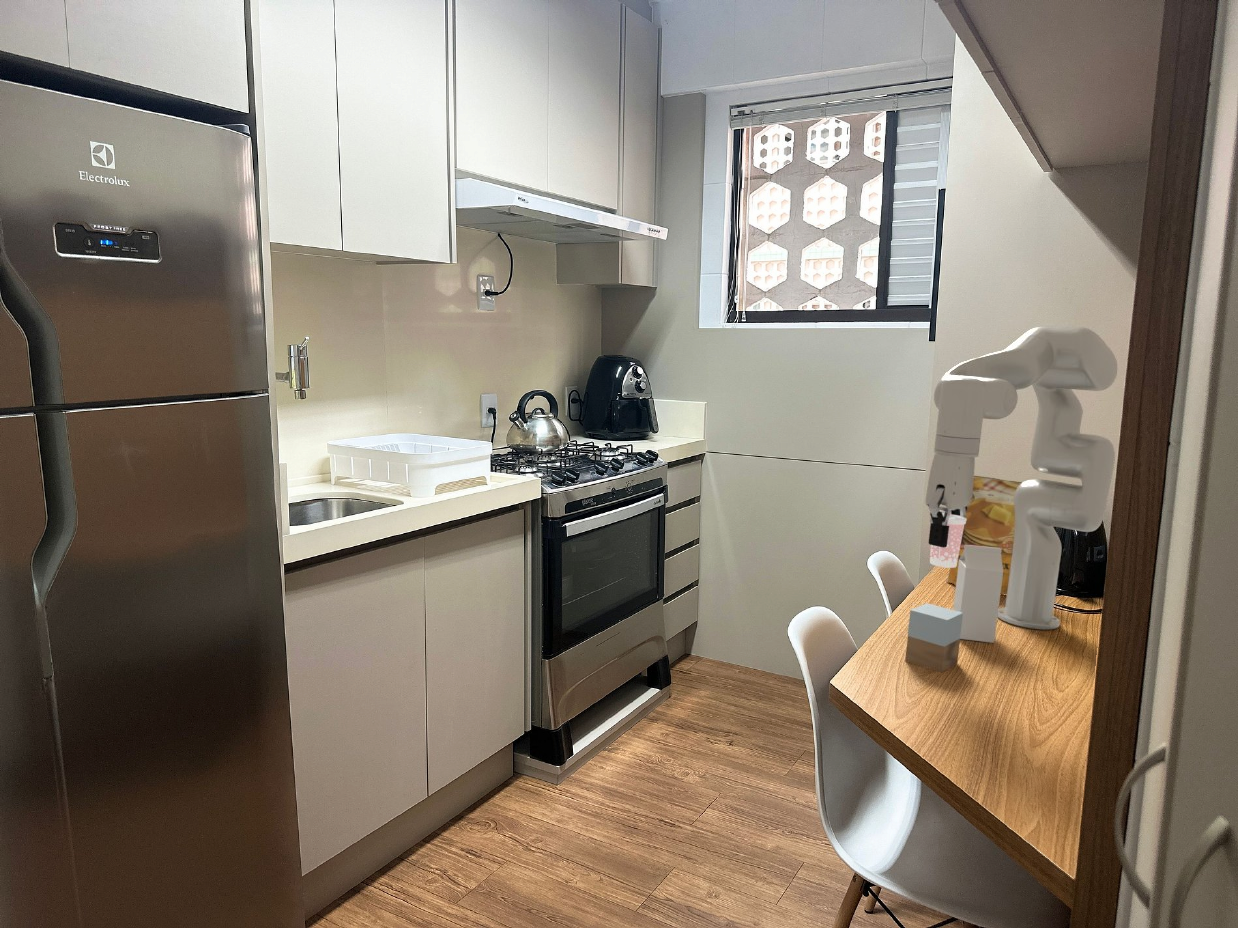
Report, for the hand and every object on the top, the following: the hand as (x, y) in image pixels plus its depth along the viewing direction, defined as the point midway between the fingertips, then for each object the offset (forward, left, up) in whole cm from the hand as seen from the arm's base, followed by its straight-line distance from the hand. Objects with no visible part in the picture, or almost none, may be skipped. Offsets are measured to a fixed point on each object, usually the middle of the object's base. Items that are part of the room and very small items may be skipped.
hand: (945, 542), depth 154 cm
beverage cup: (0, 0, -4) cm, 4 cm away
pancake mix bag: (-61, -14, -23) cm, 67 cm away
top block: (0, 0, -18) cm, 18 cm away
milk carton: (-22, -1, -23) cm, 32 cm away
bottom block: (0, 0, -23) cm, 23 cm away
